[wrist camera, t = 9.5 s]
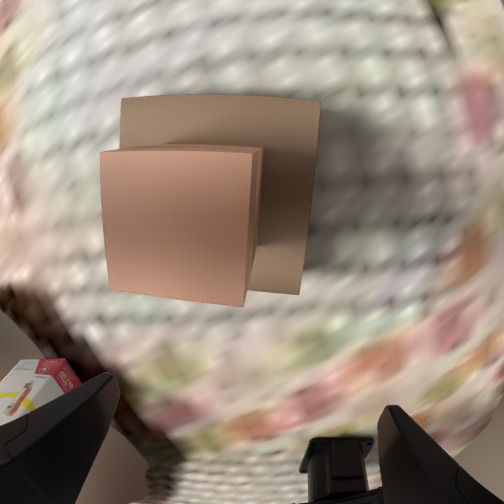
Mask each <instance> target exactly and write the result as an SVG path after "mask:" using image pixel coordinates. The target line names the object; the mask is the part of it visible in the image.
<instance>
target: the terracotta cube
mask: <svg viewBox="0 0 504 504" xmlns="http://www.w3.org/2000/svg"><path fill="white" fill-rule="evenodd" d="M263 153H264V147H255V146H238V145H214V144H156V145H148V146H139V147H132V148H124V149H117V150H110V151H104V152H100V180H101V203H102V219H103V232H104V243H105V252H106V261H107V270H108V277H109V285H110V290H115V291H121V292H128V293H135V294H141V295H148V296H155V297H163V298H170V299H178V300H185V301H193V302H202V303H210V304H219V305H228V306H237V307H243V306H244V302H245V297H246V293H247V289H248V284H249V280H250V275H251V271H252V267H253V262H254V258H255V253H256V249H257V239H258V225H259V211H260V197H261V182H262V168H263Z"/></svg>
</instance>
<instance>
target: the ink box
mask: <svg viewBox="0 0 504 504" xmlns="http://www.w3.org/2000/svg"><path fill="white" fill-rule="evenodd" d="M81 384H82V383H81V382H80V380H79V379H78V377H77V376H76V374H75V373H74V371H73V370H72V368H71V367H70V365H69V364H68V362H67V360H66V359H65V358H57V359H24V360H21V361H20V362H19V363H18V364H17V365H16V366H15V367H14V368H13V369H12V370H11V372H9V374H8V375H7V376H6V377H5V378H4V379H3V380H2V381H1V382H0V426H1V425H3V424H6V423H8V422H10V421H13V420H15V419H17V418H19V417H21V416H23V415H25V414H27V413H29V412H31V411H33V410H35V409H36V408H38V407H40V406H42V405H44V404H46V403H48V402H50V401H52V400H54V399H55V398H57V397H59V396H61V395H63V394H65V393H67V392H68V391H70V390H72V389H74V388H76V387H78V386H80V385H81Z"/></svg>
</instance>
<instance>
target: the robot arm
mask: <svg viewBox="0 0 504 504" xmlns="http://www.w3.org/2000/svg"><path fill="white" fill-rule="evenodd" d="M119 398H120V388H119V384H118V380H117V377H116V375H114V374H111V373H108V372H104V373H102V374H100V375H98V376H96V377H94V378H92V379H91V380H89V381H87V382H85V383H83V384H81V385H80V386H78V387H76V388H74V389H72V390H70V391H68V392H67V393H65V394H63V395H61V396H59V397H57V398H55V399H54V400H52V401H50V402H48V403H46V404H44V405H42V406H40V407H38V408H36V409H35V410H33V411H31V412H29V413H27V414H25V415H23V416H21V417H19V418H17V419H15V420H13V421H10V422H8V423H6V424H3V425H1V426H0V504H75V503H76V500H77V498H78V496H79V493H80V491H81V489H82V487H83V484H84V482H85V480H86V478H87V476H88V473H89V471H90V469H91V467H92V465H93V462H94V460H95V458H96V456H97V454H98V452H99V449H100V447H101V445H102V443H103V441H104V439H105V437H106V435H107V432H108V430H109V427H110V424H111V421H112V419H113V416H114V413H115V410H116V407H117V404H118V401H119ZM377 429H378V449H379V466H380V473H381V480H382V486H381V487H378V488H377V489H373V490H369V486H368V479H367V473H366V467H365V461H364V459H365V458H366V456H367V455H368V453H369V451H370V450H371V448H372V446H373V445H374V439H373V438H357V439H312V440H310V441H309V444H308V447H307V449H306V452H305V455H304V457H303V460H302V463H301V465H300V468H299V472H300V473H308V502H307V503H300V504H504V502H503V501H502V500H500V499H499V498H498V497H496V496H495V495H494V494H492V493H491V492H490V491H489V490H487V489H486V488H484V487H483V486H482V485H481V484H480V483H478V482H477V481H476V480H475V479H474V478H473V477H471V476H470V475H469V474H468V473H467V472H466V471H465V470H464V469H463V468H462V467H461V466H459V464H458V463H457V462H456V461H455V460H454V459H453V458H452V457H451V456H450V455H449V454H448V453H446V452H445V451H444V450H443V449H442V448H441V447H440V446H439V445H438V444H437V443H436V442H435V441H434V440H433V439H432V438H431V437H430V436H429V435H428V434H427V433H426V432H425V431H424V430H423V429H422V428H421V427H420V426H419V425H418V424H417V423H416V422H415V421H414V420H413V419H412V418H411V417H410V416H409V415H408V414H407V413H406V412H405V411H404V410H403V409H402V408H401V407H400V406H398V405H387V406H386V407H385V408H384V410H383V412H382V414H381V416H380V418H379V421H378V425H377ZM293 504H295V503H293Z"/></svg>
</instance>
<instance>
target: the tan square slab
mask: <svg viewBox="0 0 504 504" xmlns="http://www.w3.org/2000/svg"><path fill="white" fill-rule="evenodd" d="M320 104H321V102H320V101H312V100H303V99H293V98H282V97H269V96H252V95H225V94H187V95H159V96H143V97H131V98H122V100H121V118H120V149H124V148H132V147H139V146H148V145H156V144H214V145H238V146H255V147H264V153H263V168H262V182H261V197H260V211H259V225H258V239H257V249H256V253H255V258H254V262H253V267H252V271H251V275H250V280H249V284H248V289H247V290H251V291H261V292H272V293H282V294H293V295H299V293H300V286H301V279H302V272H303V265H304V258H305V250H306V242H307V235H308V227H309V218H310V210H311V201H312V192H313V183H314V173H315V163H316V153H317V142H318V130H319V118H320Z"/></svg>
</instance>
